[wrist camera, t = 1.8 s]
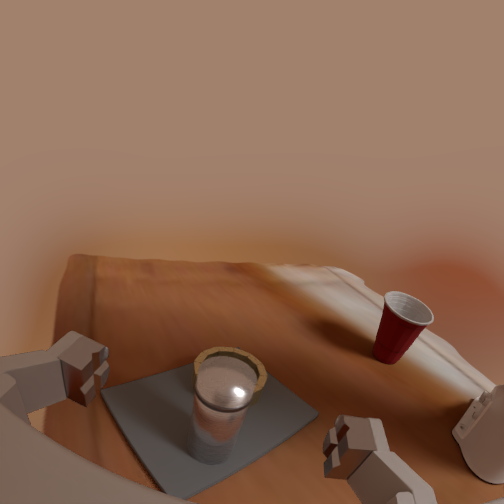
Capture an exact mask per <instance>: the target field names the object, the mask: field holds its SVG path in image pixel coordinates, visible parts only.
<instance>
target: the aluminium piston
mask: <svg viewBox="0 0 504 504" xmlns="http://www.w3.org/2000/svg"><path fill="white" fill-rule="evenodd" d="M256 383H257V377H256V374H255V372H254V370H253V369H252V368H251V367H250V366H249V365H248V364H246V363H245V362H243V361H241V360H239V359H236V358H232V357H227V356H216V357H212V358H209V359H207V360H205V361H204V362H203V363H202V364H201V365H200V367H199V371H198V376H197V378H196V382H195V395H194V401H193V408H192V414H191V421H190V427H189V434H188V441H187V449H188V452H189V453H190V455H191V456H192V457H193V458H194V459H195V460H197V461H198V462H201V463H203V464H207V465H217V464H221V463H223V462H225V461H227V460H228V459H229V457H230V456H231V453H232V451H233V448H234V445H235V443H236V440H237V437H238V434H239V432H240V429H241V426H242V423H243V420H244V418H245V415H246V412H247V409H248V406H249V404H250V403H251V401H252V398H253V395H254V389H255V386H256Z"/></svg>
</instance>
